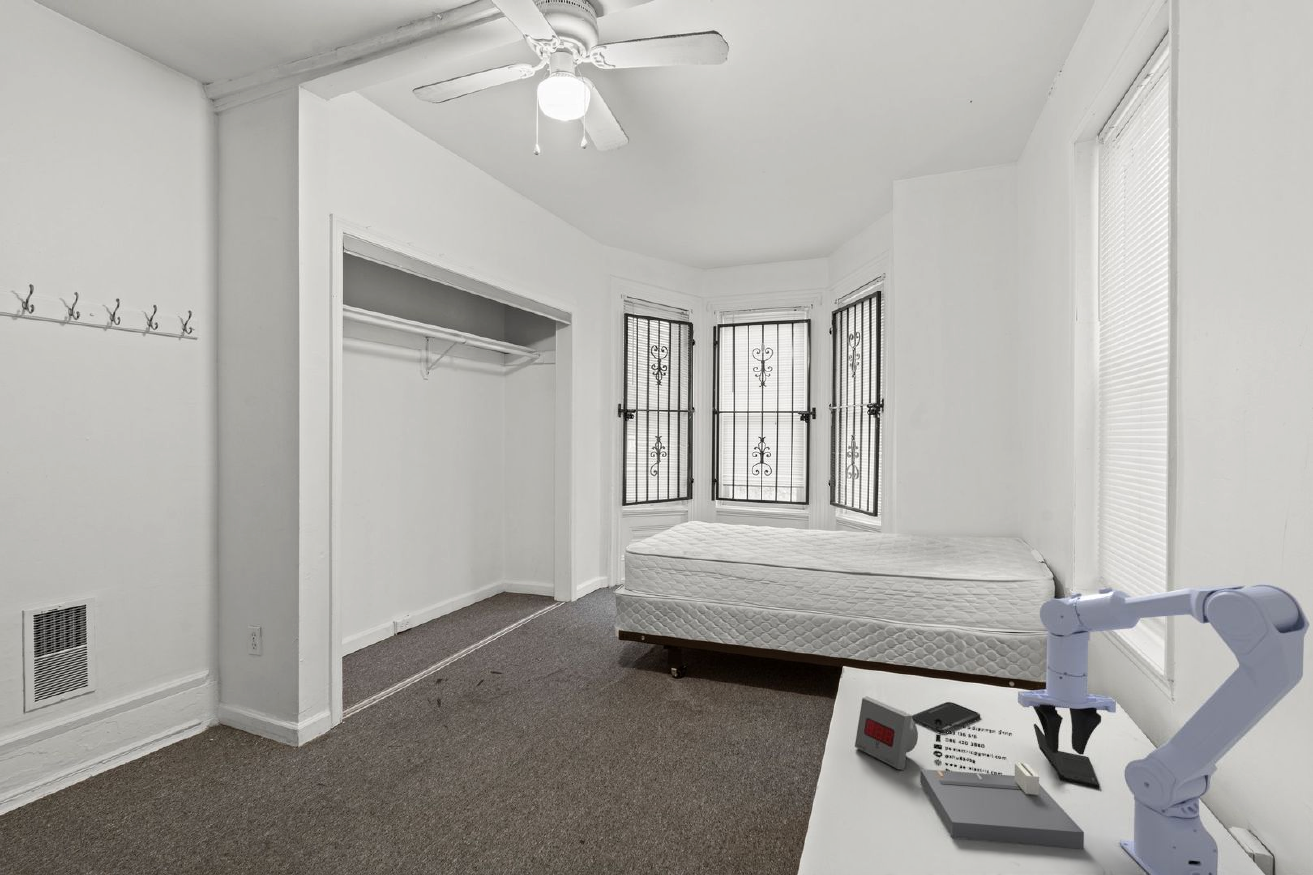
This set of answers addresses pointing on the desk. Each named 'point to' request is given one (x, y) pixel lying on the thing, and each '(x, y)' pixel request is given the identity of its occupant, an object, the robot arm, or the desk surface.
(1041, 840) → the grey slotted plate
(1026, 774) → the fader knob
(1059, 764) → the handheld gaming console
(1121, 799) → the desk surface
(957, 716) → the square ic package
